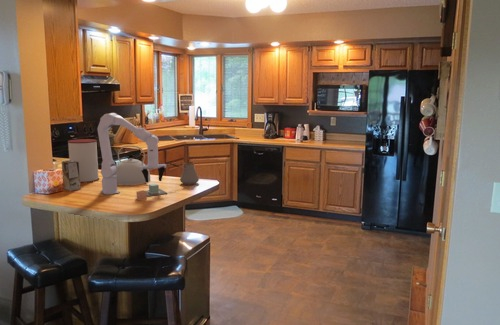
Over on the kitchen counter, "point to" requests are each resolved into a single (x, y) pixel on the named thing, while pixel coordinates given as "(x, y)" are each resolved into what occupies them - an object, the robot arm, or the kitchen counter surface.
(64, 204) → the kitchen counter surface
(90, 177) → the container
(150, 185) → the base block
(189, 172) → the coffee pot
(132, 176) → the kettle
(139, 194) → the top block
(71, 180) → the coffee box
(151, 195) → the grey flat square plate
